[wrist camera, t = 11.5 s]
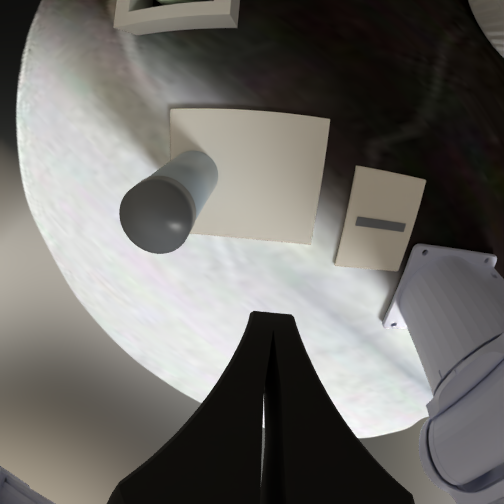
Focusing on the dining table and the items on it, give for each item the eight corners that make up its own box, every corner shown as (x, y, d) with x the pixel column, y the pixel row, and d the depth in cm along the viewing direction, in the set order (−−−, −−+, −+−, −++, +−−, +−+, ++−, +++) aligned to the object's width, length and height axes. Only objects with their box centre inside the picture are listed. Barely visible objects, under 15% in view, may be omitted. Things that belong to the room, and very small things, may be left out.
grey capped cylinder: (219, 149, 16) (187, 183, 10) (219, 200, 17) (192, 256, 12) (168, 150, 16) (114, 183, 10) (170, 198, 17) (125, 251, 12)
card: (424, 179, 16) (426, 181, 15) (397, 269, 19) (398, 272, 19) (355, 165, 16) (357, 166, 16) (334, 264, 19) (335, 266, 19)
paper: (329, 119, 15) (330, 119, 14) (309, 242, 19) (310, 244, 18) (172, 108, 15) (170, 108, 14) (174, 230, 19) (173, 232, 19)
